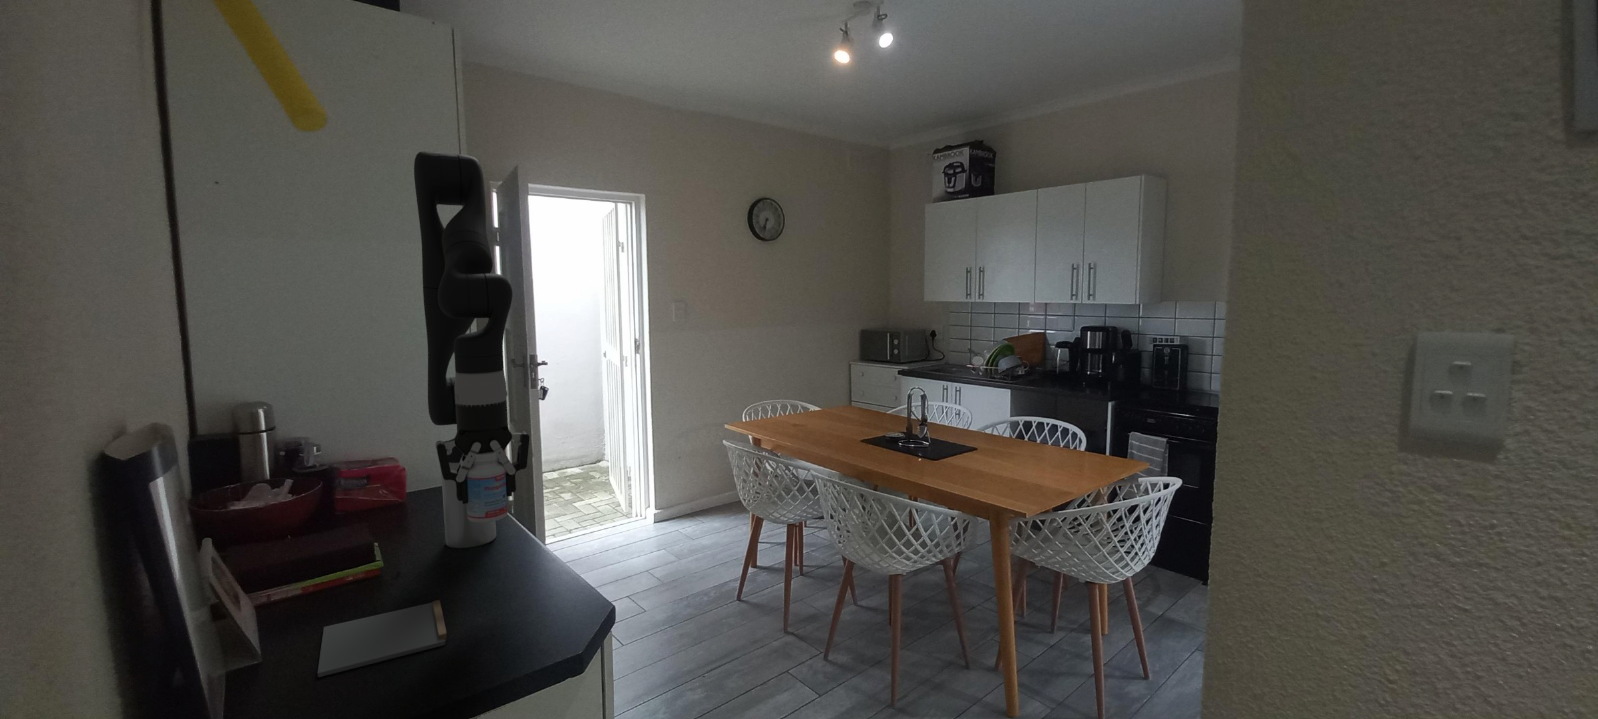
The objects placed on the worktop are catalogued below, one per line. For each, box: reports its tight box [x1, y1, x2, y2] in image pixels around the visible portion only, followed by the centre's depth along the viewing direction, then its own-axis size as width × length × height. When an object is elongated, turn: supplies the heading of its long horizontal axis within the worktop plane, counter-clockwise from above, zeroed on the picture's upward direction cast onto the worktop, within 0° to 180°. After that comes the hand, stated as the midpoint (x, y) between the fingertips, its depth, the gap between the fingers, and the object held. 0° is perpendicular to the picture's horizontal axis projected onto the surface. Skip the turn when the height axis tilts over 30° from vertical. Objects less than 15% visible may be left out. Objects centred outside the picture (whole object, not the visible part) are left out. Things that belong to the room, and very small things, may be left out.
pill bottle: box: [465, 452, 509, 523], centre depth 109 cm, size 6×6×11 cm
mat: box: [317, 602, 446, 678], centre depth 98 cm, size 14×15×1 cm
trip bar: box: [432, 599, 448, 642], centre depth 102 cm, size 12×1×1 cm, turn 32°
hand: (486, 498), depth 110 cm, fingers closed on pill bottle, 6 cm apart
